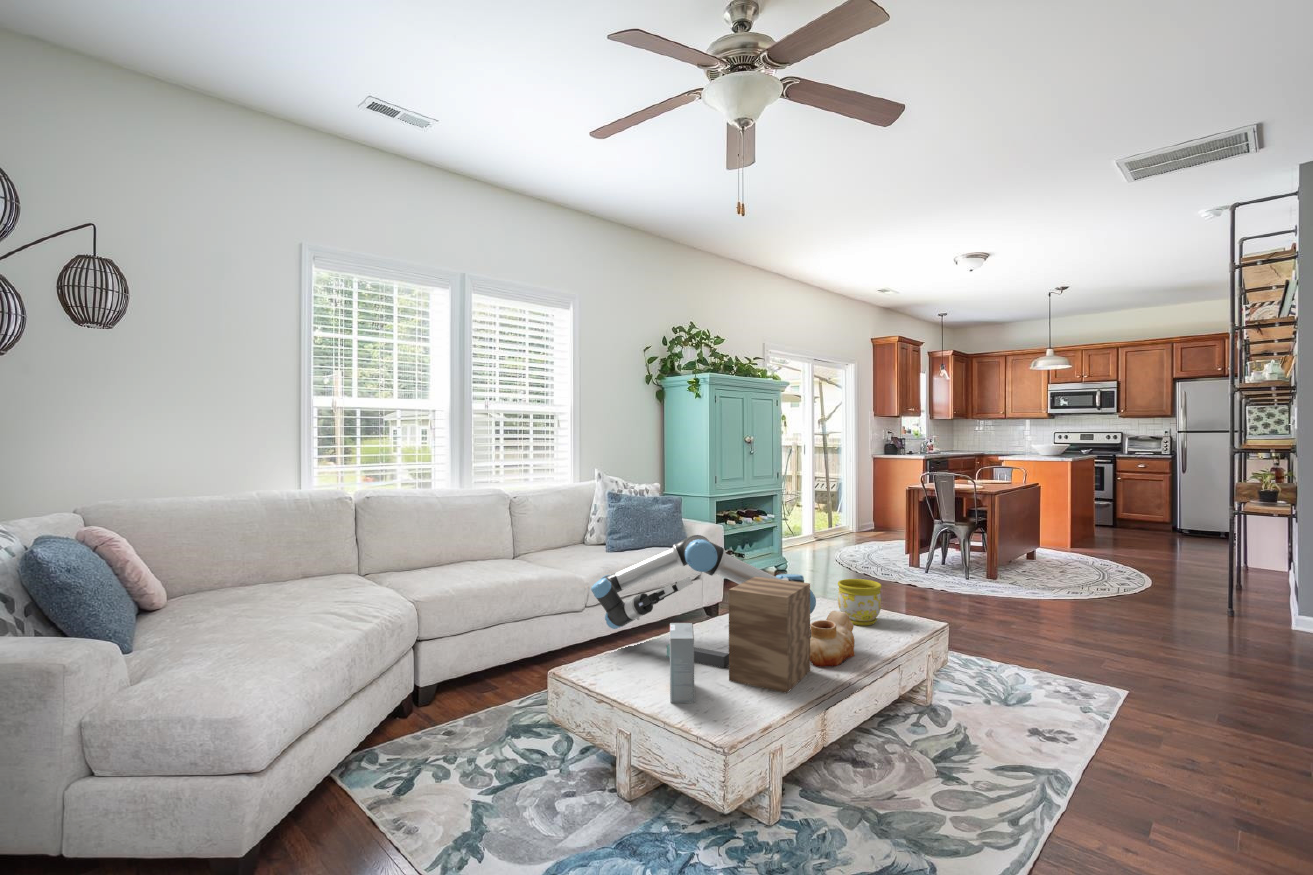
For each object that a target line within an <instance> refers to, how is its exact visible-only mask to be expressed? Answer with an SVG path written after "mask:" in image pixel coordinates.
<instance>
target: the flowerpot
mask: <svg viewBox="0 0 1313 875" xmlns="http://www.w3.org/2000/svg"><path fill="white" fill-rule="evenodd" d="M837 586H838V596H837V604H838V609H839V612H845V613H847V614H848V616H849V620H850V621H851V622H852V623H853V626H861V627H862V626H863V627H864V626H871V625H874V624H875V623H876V622H877V620H878V619H877V617H878V616H879V614H880V612H881V609H882V597H881V593H882V591H881V589H882V584H881V583H880V582H878V581H875V580H871V579H862V578H846V579H845V578H844V579H841V580H839V581H838V582H837Z"/></svg>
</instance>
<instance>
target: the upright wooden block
mask: <svg viewBox="0 0 1313 875" xmlns="http://www.w3.org/2000/svg"><path fill="white" fill-rule="evenodd" d="M810 590H811V582H810V583H809V582H804V583H803V582H795V581H787V580H779V579H771V578H763V577H754V578H752V579H750V580H748V581H745V582H743V583H741V584H737V585H736V586H734V587H731V588H729V589H728V653H729V665H728V681H730V682H734V683H739V684H744V685H747V684H748V686H752V687H757V688H761V689H767V690H770V689H772V690H771V691H775V690H776V691H775V692H779V691H781V692H780V693H784V692H786V693H785V694H788V693H789V692H790V691H791V690H793V688H794V687H795V686H796V685H797V684H799V683H800V682H801V681H802V680H803V679H804V678H805V677H806V676H807V675H808V674H809V673H810V672H811V662H810V638H811V628H810V624H811V614H810ZM805 675H806V676H805ZM803 677H804V678H803ZM790 689H791V690H790ZM789 690H790V691H789ZM788 691H789V692H788ZM787 692H788V693H787Z"/></svg>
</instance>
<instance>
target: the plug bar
mask: <svg viewBox="0 0 1313 875" xmlns="http://www.w3.org/2000/svg"><path fill="white" fill-rule="evenodd" d="M666 657H667V658H670V643H669V644H667V645H666ZM695 662H696V663H697V664H700V663H701V664H702V665H706V666H711V667H715V668H721V669H725V668H727V667H729V652H723V651H717V650H713V649H707V648H702V647H697V646H696V647H695V646H694V663H695Z"/></svg>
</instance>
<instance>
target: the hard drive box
mask: <svg viewBox="0 0 1313 875" xmlns="http://www.w3.org/2000/svg"><path fill="white" fill-rule="evenodd" d="M669 644H670V657H669V693H670V694H669V696H670V697H669V698H670V699H669V701H670V703H671V704H694V703H695V662H694V647H695V635H694V624H693V623H692V622H670V623H669Z"/></svg>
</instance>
